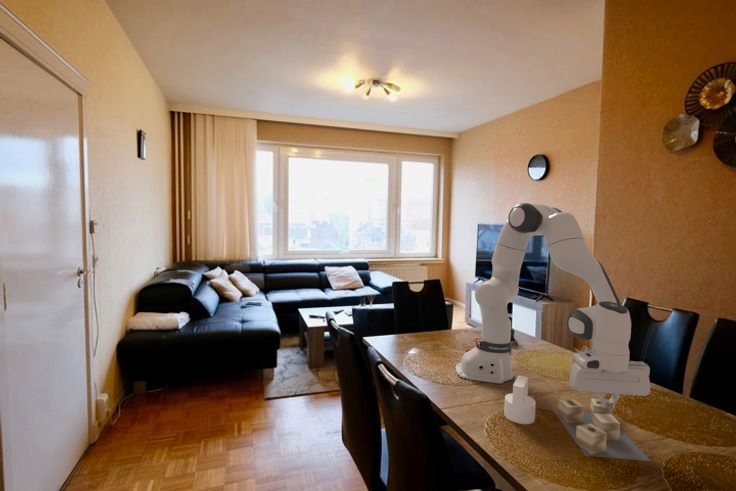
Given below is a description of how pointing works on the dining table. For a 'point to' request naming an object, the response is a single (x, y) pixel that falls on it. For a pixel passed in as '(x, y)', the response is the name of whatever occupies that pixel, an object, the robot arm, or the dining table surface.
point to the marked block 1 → (571, 411)
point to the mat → (608, 442)
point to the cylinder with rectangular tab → (520, 403)
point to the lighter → (581, 351)
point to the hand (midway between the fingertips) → (607, 407)
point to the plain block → (607, 425)
